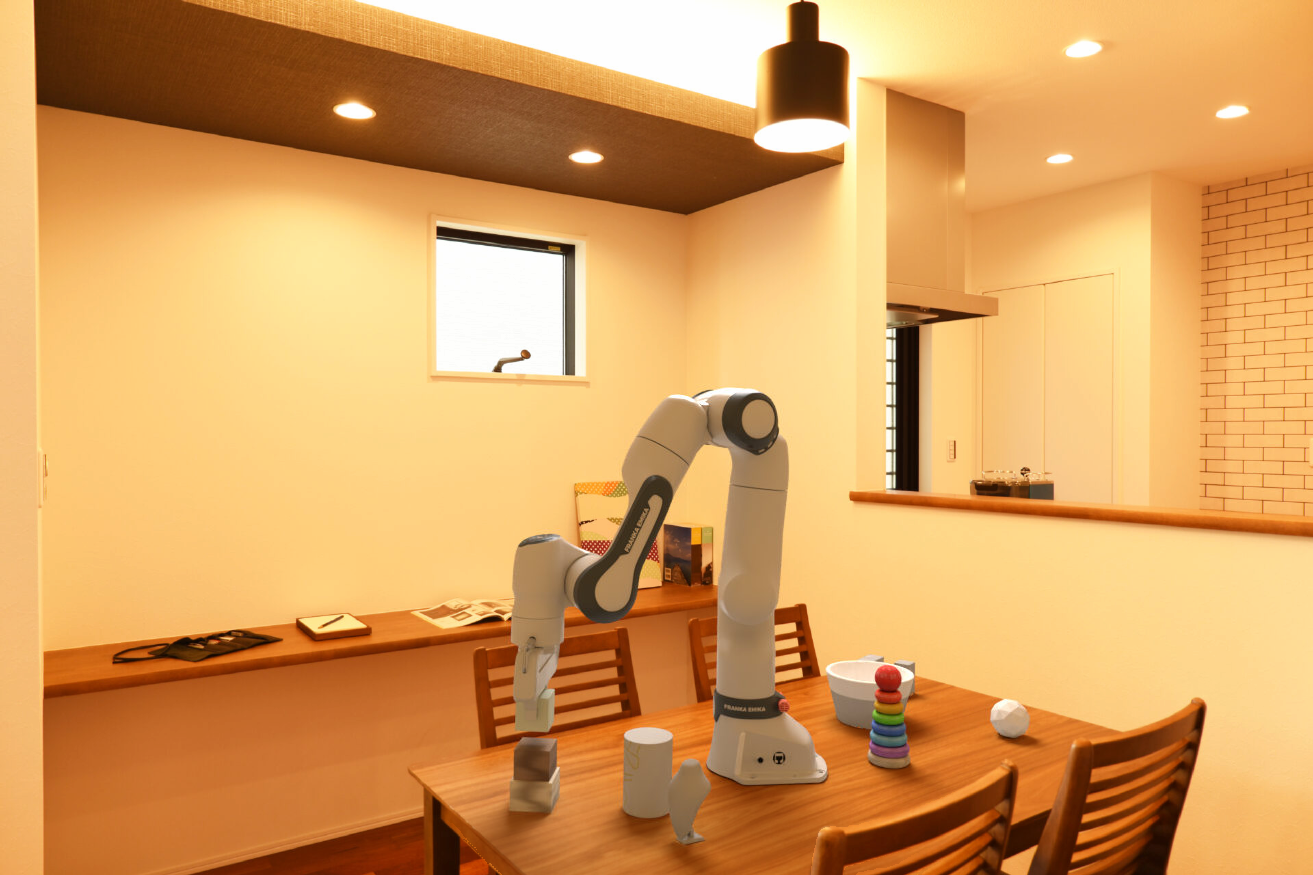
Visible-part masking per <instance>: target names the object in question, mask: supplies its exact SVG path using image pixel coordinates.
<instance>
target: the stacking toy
mask: <svg viewBox="0 0 1313 875" xmlns="http://www.w3.org/2000/svg"><path fill="white" fill-rule="evenodd" d="M875 682H876V684H877V686H878V687H879V688H880V689H877V690H876V692H875V697H876V699H877V700H876V701H875V703H874V707H875V710H874V711H873V714H872V716H873V719H874V720H873V721H872V724H871V726H872V729H870V732H869V738H870V742H869V743H868V744H869V745H868V746H869V750H868V752H867V759H868V760H869V761H870V762H871V763H872V764H873V765H875V766H878V767H881V768H886V769H901V768H905V767H907V766H909V764H910V763H911V756H910V754H909V753H910V749H911V748H910V745H909V744H908V734H907V733H906V731H907V726H906V723H905V713H904V714H903V713H902V711H903V709H904V706H903V704H902V702H900V701H901V699H902V694H901V692H900V691H899V690H897V689H898V688H899V687H900V685H901V682H902V676H901V673H900V671H899V670H898V669H897V668H896V667H894V666H891V665H883V666H881V667H879V668H878V669H877V671H876V673H875Z"/></svg>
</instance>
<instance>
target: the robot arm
mask: <svg viewBox="0 0 1313 875" xmlns="http://www.w3.org/2000/svg"><path fill="white" fill-rule="evenodd" d="M706 445H707V446H712V447H718V448H721V449H722V448H723V449H728V451H729V455H730V458H731V466H732V467H731V470H730V476H729V478H730V479H729V484H728V485H729V486H728V495H727V504H726V512H725V522H724V530H723V532H724V533H723V543H722V544H723V545H722V553H721V561H720V562H721V563H720V564H721V565H720V572H719V574H718V578H717V618H716V619H717V620H716V621H717V623H716V624H717V625H716V631H717V633H716V643H717V644H716V683H715V684H716V688H714V691H713V697H712V698H713V699H712V715H713V719H714V724H713V732H712V740H711V744H710V749H709V754H708V757H707V759H706V766H707V768H708V770H710V771H712V773H713V772H714V773H715V774H717V775H718V776H722V777H725V778H729V779H731V780H734V781H735V782H736V783H739V784H740V785H743V786H754V785H755V786H758V785H781V784H782V785H783V784H784V785H785V784H786V785H787V784H808V783H809V784H810V783H811V784H812V783H813V784H814V783H822V782H824V781H825V780H826V779H827V778H828V766H827V763H826V761H825V759H824V757H822V756H821V755H820V754H818V753H817V752H816V749H815V744H814V741H813V737H812V736H811V734H810V732H809V731H808V729H807V728H806V727H804V726H803V725H802V724H801V723H800V722H798V721H797V720H795V718H793V717H792V716H791V715H789V714H788V713H787V712H789V711H790V708H791V706H790V702H789V701H788V699H787V698H786V697H785V695H783V693H782V692H781V691H777V690H776V634H775V633H776V632H775V631H776V630H775V610H776V609H777V606H778V603H779V598H780V587H781V572H782V559H783V558H782V557H783V540H784V539H783V538H784V536H783V535H784V526H785V518H786V509H787V499H788V489H789V481H790V480H789V479H790V478H789V477H790V474H789V473H790V460H789V459H790V458H789V447H788V443H787V440H786V438H785V437H784V436H783V435H782V434H780V427H779V415H778V411H777V408H776V405H775V403H774V402H773V400H772V399H771V397H769V396H768V395H767V394H765V393H764V392H761V391H759V390H757V389H753V388H739V387H723V388H719V389H718V388H717V389H706V390H703V391H700V392H698V393H696V394H694V395H693V396H692V397H689V396H687V395H682V394H671V395H669V396H667V397H665V398H664V399H662V401H661V402H660V403H659V404H658V405H657V407H656V408H655V409H654V410H653V411H652V412H651V413H650V415H649V416H648V418H647V419H646V421H645V422H644V424H643V425H642V426H641V428H640V430H639V431H638V433H637V434H636V436H635V438H634V439H633V441H632V443H631V445H630V446H629V449H628V450H627V453H626V454H625V456H624V457H625V458H624V461H623V462H622V463H623V464H622V467H621V477H622V478H621V479H622V481H623V483H624V486H625V487H626V488H625V489H626V490H627V494H628V504H627V509H626V511H625V514H624V516H623V518H622V520H621V522H620V524H619V526H618V528H617V531H616V532H615V535H614V537H613V538H612V541H611V542H610V545H609V546H608V548H607V550H606V551H605V552H604V553H603V555H600V554H598V553H595V552H592V551H589V550H586V549H583V548H581V547H578V546H577V545H574V544H573V543H571V542H569V541H567V540H566V539H564V538H563V536H562V535H559V534H556V533H545V534H544V533H543V534H542V533H541V534H536V535H533V536H529V537H527V538H525V539H522V541H521V542H520V543H519V544H518V545H517V547H516V550H515V553H514V560H513V561H514V562H513V568H512V585H511V586H512V587H511V588H512V593H513V597H514V601H513V602H514V603H513V606H512V609H511V628H510V630H511V631H510V642H511V643H512V644H513V645H516V646H517V647H518V650H517V653H516V656H515V663H514V671H513V672H514V674H513V690H512V697H513V701H514V702H515V703H516V702H523V703H524V707H525V720H526V721H535V720H536V718H537V716H538V714H537V713H538V708H537V700H538V697H539V695H540V694H541V692H542V691H543V689H548V686H549V682H550V680H551V679H552V677H553V676H554V674H555V673H556V671H557V669H558V668H557V667H558V664H559V658H560V646H561V644H563V643H564V640H565V639H564V638H565V610H566V609H567V608H573V607H575V608H577V610H579V611H580V612H581V613H582V615H583V616H584V617H586V618H587V619H588V620H590V621H592V622H594V623H596V624H611V623H616V622H617V621H619V620H621V619H623V618H624V617H625V616H627V615H628V614H629V613H630V611H631V610H632V608H634V607H633V606H634V605H635V602H636V600H637V596H638V590H639V584H640V576H641V574H642V573H641V572H642V570H643V567H644V564H645V562H646V560H647V558H648V555H649V554H650V552H651V549H652V548H653V545H654V543H655V541H656V538H657V537H658V535H659V533H660V531H661V528H662V526H663V524H664V522H665V520H666V517H667V515H668V513H669V510H670V507H671V505H672V503H673V500H674V497H675V496H676V495H675V494H676V493H677V491H678V489H679V487H680V485H681V483H682V482H683V480H684V478H685V476H686V474H687V473H688V471H689V469H690V467H691V465H692V463H693V461H694V459H695V457H696V456H697V454H698V453H699V451H700V450H701V448H702V447H703V446H706Z"/></svg>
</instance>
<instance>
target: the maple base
mask: <svg viewBox="0 0 1313 875" xmlns="http://www.w3.org/2000/svg"><path fill="white" fill-rule="evenodd" d="M560 778H561V767H560V766H557V768H556V770H555V772H554V774H553V776H552V778H551V779H550V781H549V782H543V781H524V780H513V776H512V777H511V779H510V781H509V804H508V805H509V812H525V813H526V812H527V813H528V812H529V813H543V814H544V813H545V814H546V813H547V814H552V813H553V810H554V808H555V806H556V804H557V801H558V799H559V798H560V784H561V782H560Z"/></svg>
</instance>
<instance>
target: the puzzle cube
mask: <svg viewBox="0 0 1313 875" xmlns="http://www.w3.org/2000/svg"><path fill="white" fill-rule="evenodd" d="M856 661H874V662H882V663H885V657H884V656H882V655H876V654H867V655H865V656H863V657H861V658H858V659H857V660H856ZM893 665H897V666H900V667H903V668H906V669H908V670H910V671H911V672H912V673H913V674H914V680H913V684H912V687H911V691H910V695H911V694H912V693H915V690H916V688H915V686H916V662H915V661H911V660H910V661H909V660H906V659H905V660H904V659H899V660H896V661H895V662H894V663H893ZM915 694H916V693H915ZM910 695H909V696H910ZM911 696H912V695H911ZM911 696H910V697H911Z"/></svg>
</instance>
